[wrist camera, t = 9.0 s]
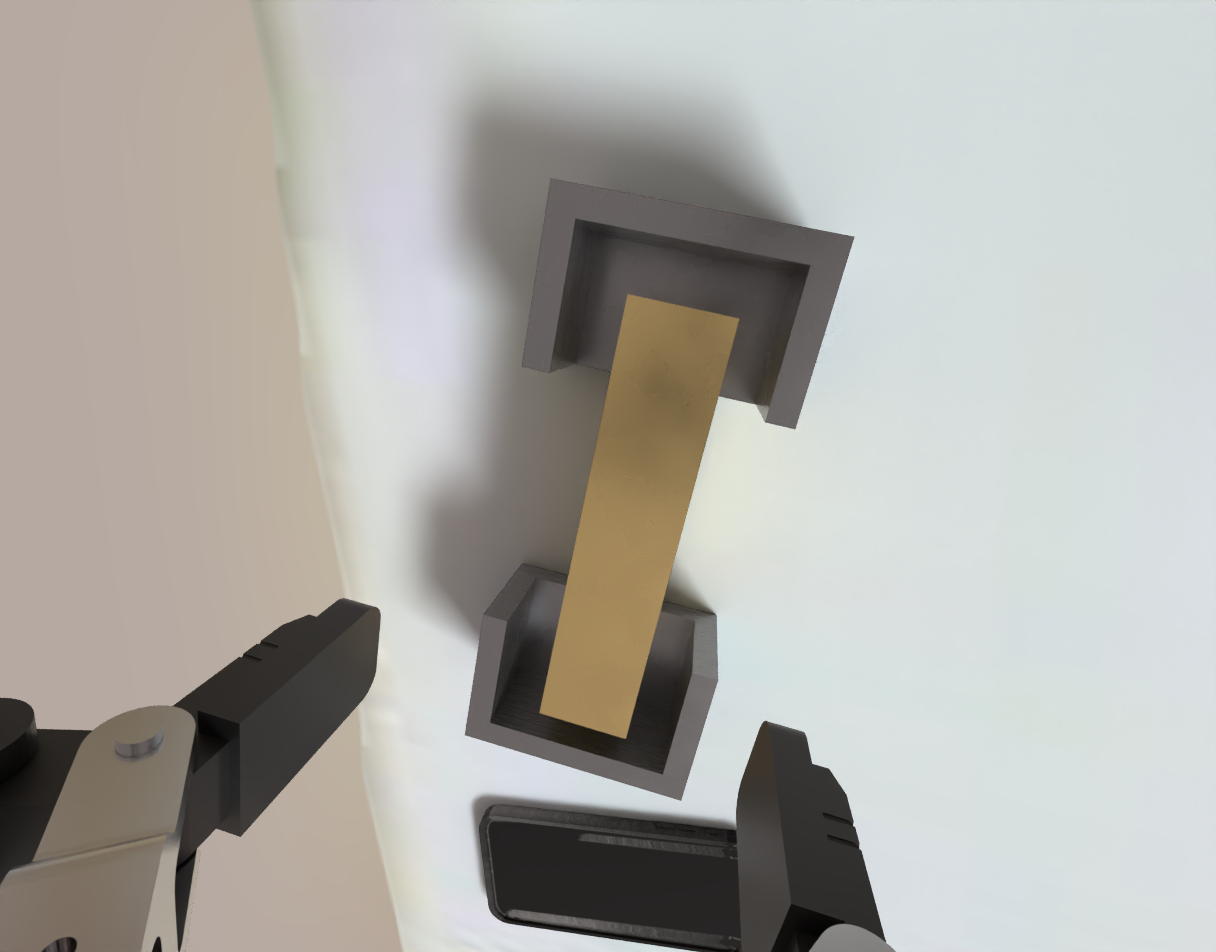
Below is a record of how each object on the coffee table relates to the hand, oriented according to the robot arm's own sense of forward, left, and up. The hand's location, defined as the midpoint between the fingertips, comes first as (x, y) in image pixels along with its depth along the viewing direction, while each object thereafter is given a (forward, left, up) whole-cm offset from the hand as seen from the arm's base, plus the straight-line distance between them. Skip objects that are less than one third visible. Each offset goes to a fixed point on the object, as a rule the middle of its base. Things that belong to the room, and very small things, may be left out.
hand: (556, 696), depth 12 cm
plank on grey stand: (0, 0, -15) cm, 15 cm away
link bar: (0, 0, -14) cm, 14 cm away
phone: (+22, +3, -15) cm, 27 cm away
